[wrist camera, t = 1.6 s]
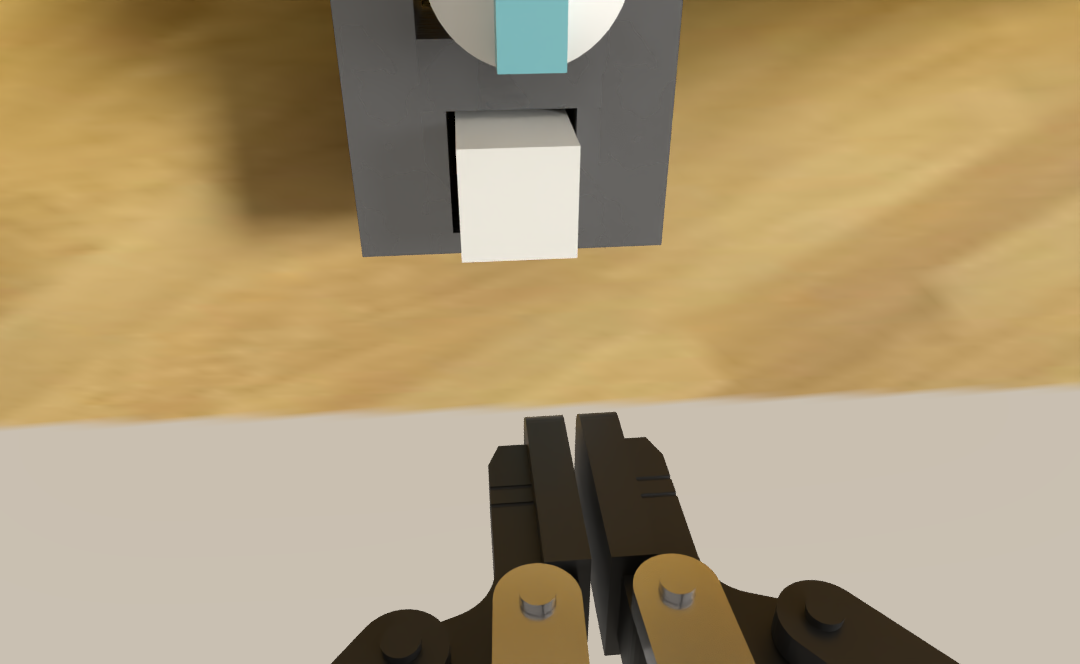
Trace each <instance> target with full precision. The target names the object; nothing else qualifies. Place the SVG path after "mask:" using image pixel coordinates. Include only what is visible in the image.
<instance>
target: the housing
mask: <svg viewBox="0 0 1080 664" xmlns="http://www.w3.org/2000/svg"><path fill="white" fill-rule="evenodd" d="M330 3H331V11H332V19H333V26H334V34H335V42H336V50H337V58H338V66H339V74H340V82H341V89H342V97H343V105H344V113H345V121H346V129H347V137H348V145H349V153H350V160H351V168H352V176H353V184H354V192H355V200H356V208H357V216H358V223H359V231H360V239H361V247H362V255H363V257H373V256H398V255H423V254H447V253H461V234H460V216H459V198H458V180H457V174H452V157H451V139H450V122H449V111H484V110H523V109H561V108H564V109H565V111H566V113H567V116H568V118H569V120H570V123H571V125H572V127H573V130H574V132H575V134H576V136H577V139H578V141H579V143H580V146H581V147H580V182H579V216H578V248H596V247H621V246H645V245H661V241H662V230H663V219H664V208H665V196H666V185H667V174H668V163H669V152H670V140H671V129H672V118H673V107H674V95H675V84H676V73H677V62H678V51H679V39H680V28H681V17H682V6H683V0H625V1H624V4H623V6H622V8H621V10H620V12H619V14H618V16H617V18H616V19H615V21H614V23H613V24H612V26H611V27H610V29H609V30H608V31H607V32H606V33H605V35H604V36H603V37H602V38H601V39H600V40H599V41H598V42H597V43H596V44H595V45H594V46H593V47H592V48H591V49H589V50H588V51H587V52H585V53H584V54H582V55H581V56H579V57H578V58H576V59H574V60H572V61H570V62H568V63H567V73H540V74H497V70H496V67H495V66H492V65H489V64H487V63H485V62H483V61H481V60H479V59H477V58H476V57H474V56H473V55H471V54H470V53H468V52H467V51H465V50H464V49H463V48H462V47H461V46H460V45H458V44H457V43H456V42H455V41H454V40H453V39H452V37H451V36H450V35H449V34H448V33H447V32H446V30H445V29H444V28H443V26H442V25H441V23H440V22H439V20H438V18H437V17H436V15H435V13H434V11H433V9H432V7H431V6H421V0H330Z"/></svg>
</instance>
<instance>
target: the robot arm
mask: <svg viewBox="0 0 1080 664" xmlns="http://www.w3.org/2000/svg"><path fill="white" fill-rule="evenodd" d="M488 469H489V493H490V517H491V534H492V553H493V569H494V581H493V585H492V587H491V589H490V591H489V592H488V594H487V596H486V597H485V598H484V599H483V600H482V601H481V602H480V603H479V604H478V605H476V606H475V607H474V608H472V609H471V610H469V611H467V612H465V613H463V614H461V615H458V616H456V617H453V618H450V619H448V620H445V621H442V622H440V621H439V620H438V619H437V618H435V617H434V616H432V615H431V614H428V613H426V612H423V611H419V610H411V609H408V610H407V609H406V610H398V611H393V612H390V613H387V614H384V615H382V616H380V617H378V618H377V619H376V620H374V621H372V622H371V623H370V624H369V625H368V626H367V627H366V628H365V629H364V630H363V631H362V632H361V633H360V634H359V635H358V636H357V637H356V638H355V639H354V640H353V641H352V642H351V643H350V644H349V645H348V646H347V648H346V649H345V650H344V651H343V652H342V653H341V654H340V655H339V656H338V657H337V658H336V659H335V660H334V661H333V662H332V663H331V664H589V654H588V645H587V640H588V621H589V600H590V581H591V586H592V592H593V597H594V602H595V608H596V613H597V618H598V623H599V629H600V634H601V639H602V644H603V649H604V655H605V656H607V655H619V654H621V658H622V663H623V664H959V663H957V662H956V661H954V660H953V659H951V658H950V657H948V656H947V655H945V654H944V653H942V652H940V651H939V650H937V649H936V648H934V647H933V646H931V645H930V644H928V643H926V642H925V641H923V640H922V639H920V638H919V637H917V636H916V635H914V634H913V633H911V632H909V631H908V630H906V629H905V628H903V627H902V626H900V625H899V624H897V623H896V622H894V621H892V620H891V619H889V618H888V617H886V616H885V615H883V614H882V613H880V612H879V611H877V610H875V609H874V608H872V607H871V606H869V605H868V604H866V603H864V602H863V601H861V600H860V599H858V598H857V597H855V596H853V595H852V594H851V593H849V592H847V591H846V590H844V589H842V588H840V587H838V586H836V585H833V584H831V583H827V582H823V581H817V580H805V581H799V582H795V583H793V584H791V585H789V586H788V587H786V588H785V589H784V590H783V591H782V592H781V593H780V595H779V597H778V598H773V597H768V596H763V595H758V594H753V593H748V592H744V591H740V590H737V589H734V588H732V587H729V586H728V585H726V584H724V583H722V582H720V581H719V580H718V578H717V576H716V575H715V574H714V572H713V571H712V570H711V569H710V568H709V567H708V566H706V565H705V564H704V563H702V562H701V561H700V559H699V557H698V555H697V552H696V549H695V546H694V543H693V540H692V538H691V534H690V531H689V529H688V526H687V523H686V520H685V517H684V514H683V511H682V509H681V506H680V503H679V500H678V497H677V496H676V491H675V488H674V486H673V483H672V480H671V479H670V474H669V471H668V468H667V466H666V463H665V460H664V457H663V454H662V453H661V452H660V451H659V450H658V449H657V448H656V447H655V446H654V445H653V444H652V443H651V442H650V441H649V440H648V439H647V438H646V437H640V438H624V436H623V432H622V429H621V425H620V422H619V418H618V415H617V413H616V412H606V413H589V414H577V418H576V439H575V468H573V462H572V457H571V452H570V447H569V442H568V437H567V432H566V427H565V422H564V417H563V415H558V416H557V415H556V416H540V417H525V418H524V445H511V446H498V448H497V450H496V452H495V454H494V456H493V458H492V460H491V462H490V463H489V465H488Z"/></svg>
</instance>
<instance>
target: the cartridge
mask: <svg viewBox="0 0 1080 664" xmlns="http://www.w3.org/2000/svg"><path fill="white" fill-rule="evenodd" d="M624 1H625V0H429V2H430V4H431V7H432V9H433V11H434V13H435V15H436V17H437V18H438V20H439V22H440V23H441V25H442V26H443V28H444V29H445V30H446V32H447V33H448V34H449V35H450V36H451V37H452V39H453V40H454V41H455V42H456V43H457V44H458V45H460V46H461V47H462V48H463V49H464V50H465V51H467V52H468V53H470V54H471V55H473V56H474V57H476V58H477V59H479V60H481V61H483V62H485V63H487V64H489V65H492V66H495V67H496V70H497V74H540V73H567V63H568V62H570V61H572V60H574V59H576V58H578V57H579V56H581V55H582V54H584V53H585V52H587V51H588V50H589V49H591V48H592V47H593V46H594V45H595V44H596V43H597V42H598V41H599V40H600V39H601V38H602V37H603V36H604V35H605V33H606V32H607V31H608V30H609V29H610V27H611V26H612V24H613V23H614V21H615V19H616V18H617V16H618V14H619V12H620V10H621V8H622V6H623V4H624Z"/></svg>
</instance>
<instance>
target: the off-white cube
mask: <svg viewBox="0 0 1080 664" xmlns="http://www.w3.org/2000/svg"><path fill="white" fill-rule="evenodd" d="M455 133H456V162H457V180H458V198H459V216H460V234H461V253H462V263H463V262H487V261H511V260H535V259H560V258H577V251H578V216H579V182H580V147H581V146H580V143H579V141H578V139H577V136H576V134H575V132H574V130H573V127H572V125H571V123H570V120H569V118H568V116H567V113H566V111H565V109H564V108H561V109H523V110H484V111H455Z"/></svg>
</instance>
